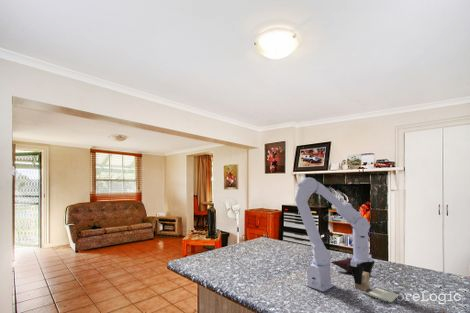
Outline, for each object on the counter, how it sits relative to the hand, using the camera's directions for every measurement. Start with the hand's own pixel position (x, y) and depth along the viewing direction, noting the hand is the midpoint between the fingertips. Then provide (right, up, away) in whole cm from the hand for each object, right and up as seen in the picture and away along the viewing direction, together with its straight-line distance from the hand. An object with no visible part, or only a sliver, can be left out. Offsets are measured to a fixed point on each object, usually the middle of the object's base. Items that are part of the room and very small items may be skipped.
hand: (362, 281), depth 103 cm
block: (0, -3, 0) cm, 3 cm away
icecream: (+2, -5, +17) cm, 18 cm away
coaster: (+4, -2, -7) cm, 8 cm away
